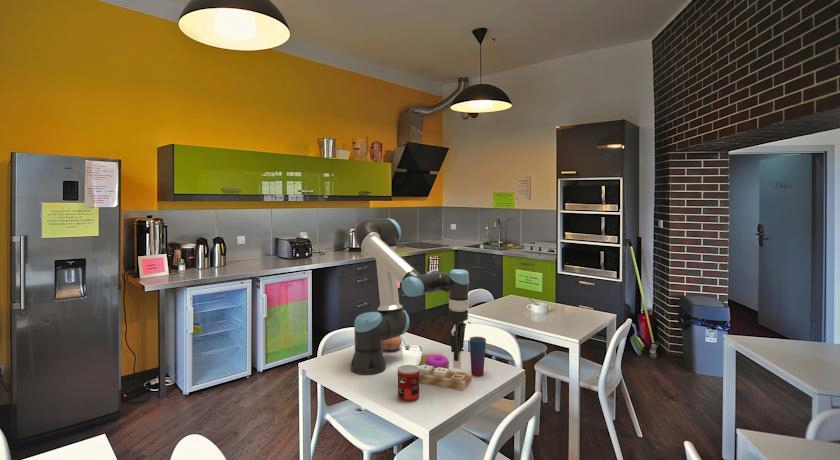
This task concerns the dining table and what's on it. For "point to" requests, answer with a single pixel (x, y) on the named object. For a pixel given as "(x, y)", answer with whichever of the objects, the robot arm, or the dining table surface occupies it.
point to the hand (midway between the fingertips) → (457, 367)
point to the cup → (477, 355)
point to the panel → (446, 380)
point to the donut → (437, 361)
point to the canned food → (408, 383)
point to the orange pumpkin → (391, 343)
